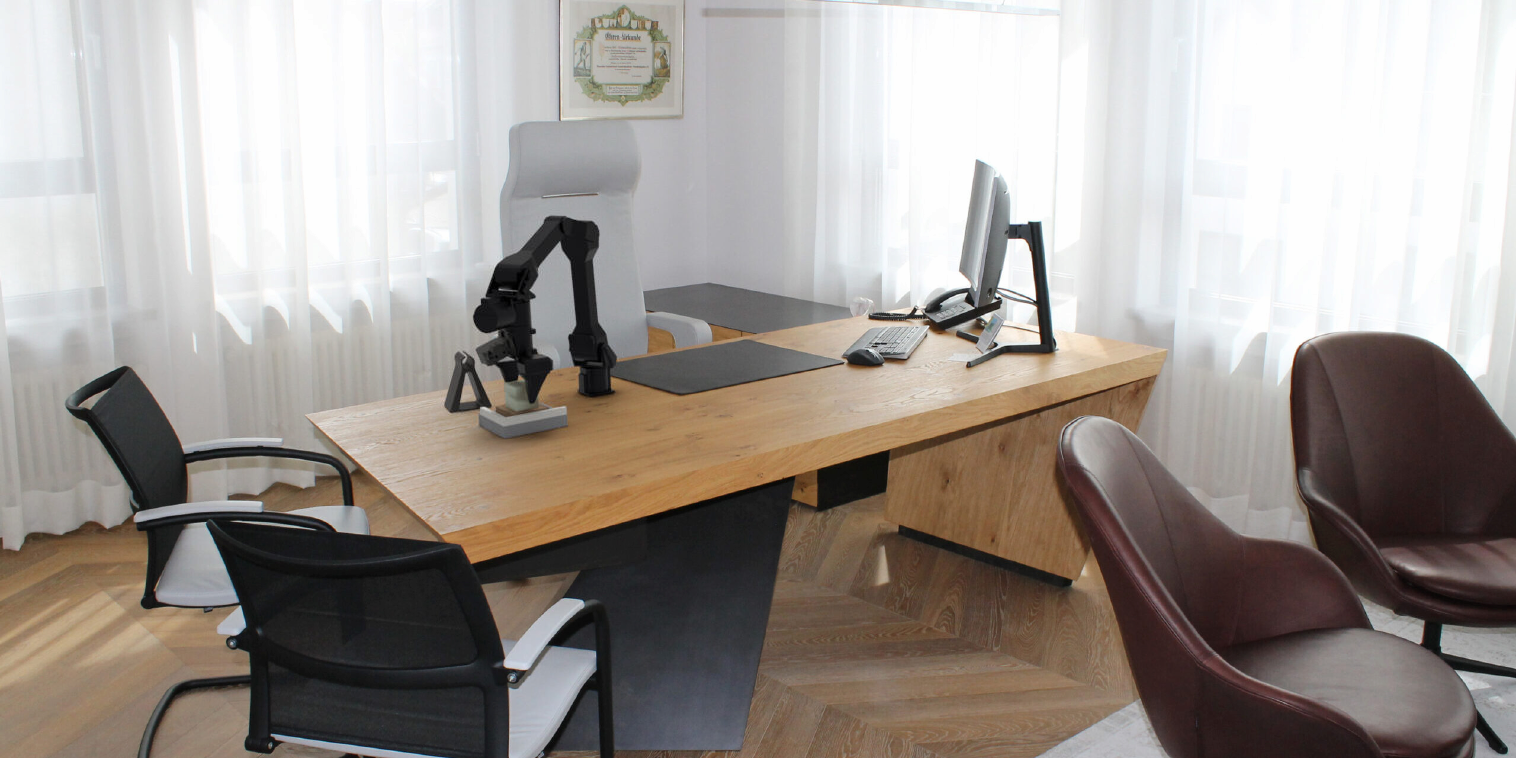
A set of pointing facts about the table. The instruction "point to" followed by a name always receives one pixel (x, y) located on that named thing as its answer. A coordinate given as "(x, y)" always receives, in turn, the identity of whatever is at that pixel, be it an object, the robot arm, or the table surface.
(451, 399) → the phone stand
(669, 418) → the table surface
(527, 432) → the dock
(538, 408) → the cube on wooden base
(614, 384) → the table surface
